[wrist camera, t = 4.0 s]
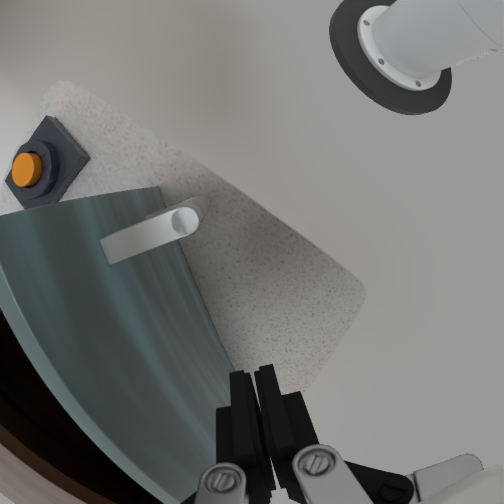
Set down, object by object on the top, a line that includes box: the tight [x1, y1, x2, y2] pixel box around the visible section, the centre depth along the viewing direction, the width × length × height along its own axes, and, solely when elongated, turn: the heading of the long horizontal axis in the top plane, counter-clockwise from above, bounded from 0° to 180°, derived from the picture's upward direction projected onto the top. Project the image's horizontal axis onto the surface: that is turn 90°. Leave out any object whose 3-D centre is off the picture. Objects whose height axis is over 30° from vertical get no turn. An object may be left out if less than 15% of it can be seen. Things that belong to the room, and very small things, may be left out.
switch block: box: [5, 115, 90, 210], centre depth 25 cm, size 10×8×4 cm
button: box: [12, 153, 42, 187], centre depth 22 cm, size 4×4×2 cm
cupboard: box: [0, 307, 164, 504], centre depth 22 cm, size 18×26×24 cm
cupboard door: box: [0, 186, 235, 504], centre depth 20 cm, size 6×26×24 cm, turn 18°
